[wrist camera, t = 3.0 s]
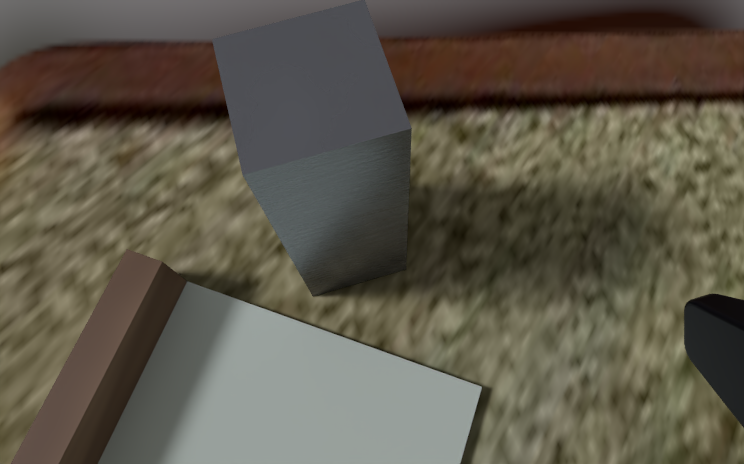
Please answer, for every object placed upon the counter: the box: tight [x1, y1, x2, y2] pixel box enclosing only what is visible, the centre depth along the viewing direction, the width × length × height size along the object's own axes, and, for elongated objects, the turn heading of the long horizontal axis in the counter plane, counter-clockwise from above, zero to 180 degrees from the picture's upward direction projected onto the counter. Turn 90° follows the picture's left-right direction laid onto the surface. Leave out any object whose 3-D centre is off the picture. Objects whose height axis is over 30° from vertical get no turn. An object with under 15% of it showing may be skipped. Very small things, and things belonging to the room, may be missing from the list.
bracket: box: [212, 0, 412, 296], centre depth 19 cm, size 9×4×11 cm, turn 16°
